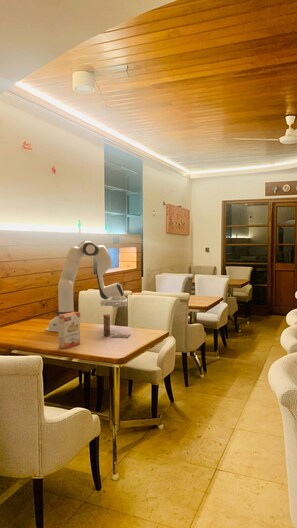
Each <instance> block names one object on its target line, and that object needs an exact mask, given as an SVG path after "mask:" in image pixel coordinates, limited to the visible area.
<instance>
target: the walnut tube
mask: <svg viewBox="0 0 297 528" xmlns="http://www.w3.org/2000/svg"><path fill="white" fill-rule="evenodd" d="M102 315H103V336H104V337H105V338H106V337H111V314H110V313H105V314H102Z"/></svg>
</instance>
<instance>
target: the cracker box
mask: <svg viewBox="0 0 297 528" xmlns="http://www.w3.org/2000/svg"><path fill="white" fill-rule="evenodd" d="M80 344H81V312H79V311H74V312H71V313H66V314H61V315H59V332H58V348H60V349H64V350H65V349H68V348H71V347H74V346H75V347H76V346H78V345H80Z"/></svg>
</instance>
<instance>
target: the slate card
mask: <svg viewBox="0 0 297 528" xmlns="http://www.w3.org/2000/svg"><path fill="white" fill-rule="evenodd" d="M130 336H131V334H130V333H129V334H127V333H125V334H124V333H113V334H112V335H110V338H117V339H118V338H119V339H128V338H129V337H130Z"/></svg>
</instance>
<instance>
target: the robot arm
mask: <svg viewBox="0 0 297 528" xmlns="http://www.w3.org/2000/svg"><path fill="white" fill-rule="evenodd" d="M84 256H87V257H91V256H93V257H94V258H95V261H96V263H97V268H96V269H95V275H96V279H97V286H98V290H99V291H98V292H99V296H100V298H101V299H102V300H100V306H101V307H107V306H108V307H112V308H115V309H117V308H121V307H127V306H128V298H127V297H126V296H125V290H124V287H123V286H122V284H121V283H119V282H115V283H112V284H109V285H106V286H105V282H104V277H103V276H104V274H105V273H106V272H108V271H109V269H110V268H111V267H112V265H113V261H112V258H111V255H110V253H109V251H108V249H107V248H106V246H105V245H97V244H96V243H94V242H92V241H90V240H84V241H82V242H81V243H80V244H79V245H77V246H71V247H70V248H69V250H68V252H67V254H66V257H65V260H64V264H63V267H62V271H61V274H60V278H59V280H58V286H57V289H58V291H57V293H58V294H57V296H58V297H57V298H58V311H55V315H56V316H55V317H53V318H52V319H51V320H50V321H49V322H48V326H47V327H46V328H45V331H47V332H56V333H57V332H58V333H59V315H61V314H66V313H71V312H75V310H74V305H75V304H74V285H75V281H76V279H77V278H76V277H77V275H78V271H79V268H80V264H81V260H82V258H83V257H84Z"/></svg>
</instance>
